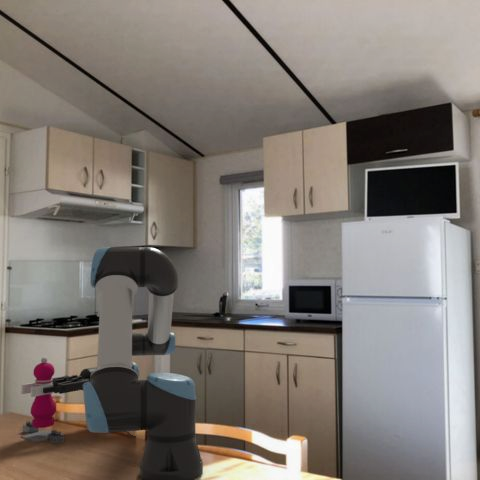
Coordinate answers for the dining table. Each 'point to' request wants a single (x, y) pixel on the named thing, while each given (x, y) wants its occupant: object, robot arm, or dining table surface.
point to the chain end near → (55, 437)
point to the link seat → (38, 436)
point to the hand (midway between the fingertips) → (26, 390)
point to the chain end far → (29, 428)
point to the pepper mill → (43, 397)
